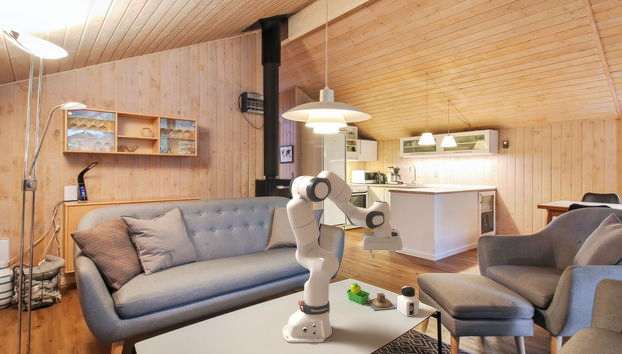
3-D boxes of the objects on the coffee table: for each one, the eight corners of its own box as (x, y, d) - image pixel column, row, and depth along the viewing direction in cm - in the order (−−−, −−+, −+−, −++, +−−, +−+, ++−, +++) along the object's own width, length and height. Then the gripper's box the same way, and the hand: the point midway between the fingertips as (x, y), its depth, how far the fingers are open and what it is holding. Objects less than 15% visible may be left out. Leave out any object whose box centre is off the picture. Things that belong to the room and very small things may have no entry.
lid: (375, 308, 171) (375, 299, 171) (368, 300, 181) (368, 291, 181) (393, 307, 173) (393, 297, 173) (385, 299, 183) (385, 290, 183)
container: (419, 314, 166) (419, 289, 166) (406, 317, 163) (406, 291, 163) (409, 308, 173) (409, 284, 173) (397, 310, 171) (397, 286, 170)
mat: (374, 310, 170) (374, 309, 170) (366, 301, 182) (366, 300, 182) (396, 308, 173) (396, 307, 173) (386, 299, 184) (386, 298, 184)
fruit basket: (370, 302, 181) (370, 282, 180) (360, 307, 175) (360, 286, 174) (354, 295, 189) (354, 276, 189) (344, 300, 183) (344, 280, 183)
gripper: (361, 233, 168) (362, 260, 169) (402, 233, 165) (403, 260, 166) (361, 230, 174) (361, 256, 175) (400, 230, 171) (401, 256, 172)
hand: (382, 258), depth 170 cm, fingers open, 8 cm apart
